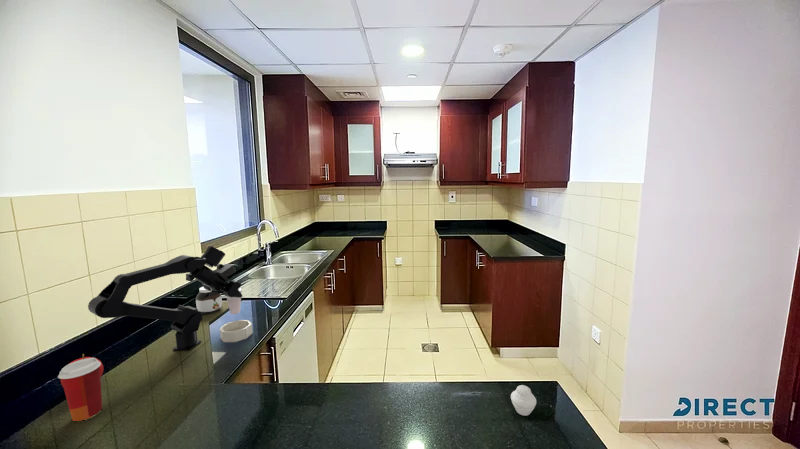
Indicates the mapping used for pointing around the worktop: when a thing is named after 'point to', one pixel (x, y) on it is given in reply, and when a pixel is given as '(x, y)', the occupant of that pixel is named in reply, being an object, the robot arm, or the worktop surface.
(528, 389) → the white rounded blob
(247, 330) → the bowl
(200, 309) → the spread jar
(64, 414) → the worktop surface
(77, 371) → the paper cup
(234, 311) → the smoothie
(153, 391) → the worktop surface
